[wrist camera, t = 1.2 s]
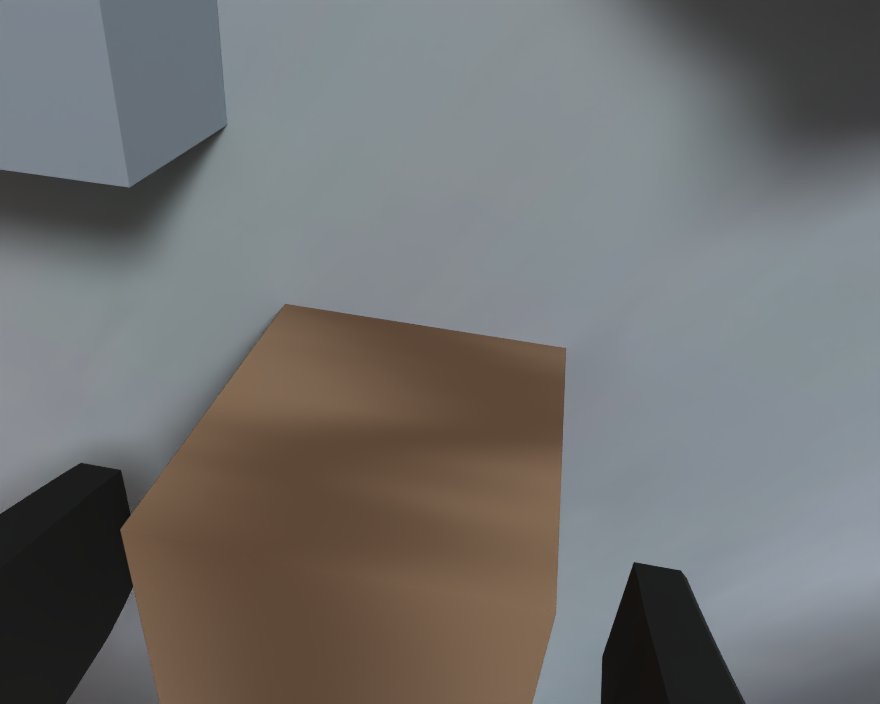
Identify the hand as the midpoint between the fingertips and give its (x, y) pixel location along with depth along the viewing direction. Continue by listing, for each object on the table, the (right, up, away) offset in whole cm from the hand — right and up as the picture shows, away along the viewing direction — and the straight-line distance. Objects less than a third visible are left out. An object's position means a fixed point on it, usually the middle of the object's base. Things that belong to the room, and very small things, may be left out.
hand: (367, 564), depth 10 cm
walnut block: (+1, +2, +2) cm, 3 cm away
